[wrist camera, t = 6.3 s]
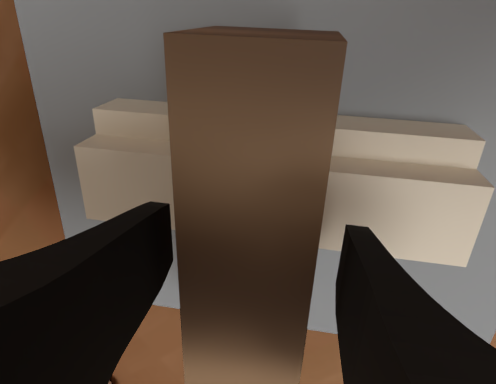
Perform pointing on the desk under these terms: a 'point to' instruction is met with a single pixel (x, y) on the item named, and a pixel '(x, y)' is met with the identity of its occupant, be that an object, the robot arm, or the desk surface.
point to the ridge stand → (345, 139)
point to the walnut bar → (249, 192)
